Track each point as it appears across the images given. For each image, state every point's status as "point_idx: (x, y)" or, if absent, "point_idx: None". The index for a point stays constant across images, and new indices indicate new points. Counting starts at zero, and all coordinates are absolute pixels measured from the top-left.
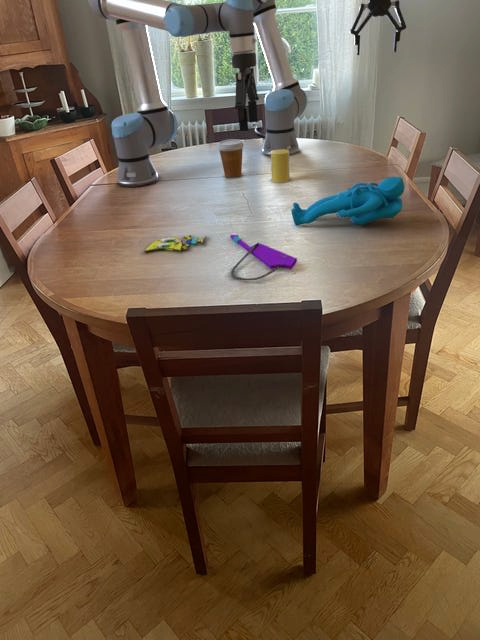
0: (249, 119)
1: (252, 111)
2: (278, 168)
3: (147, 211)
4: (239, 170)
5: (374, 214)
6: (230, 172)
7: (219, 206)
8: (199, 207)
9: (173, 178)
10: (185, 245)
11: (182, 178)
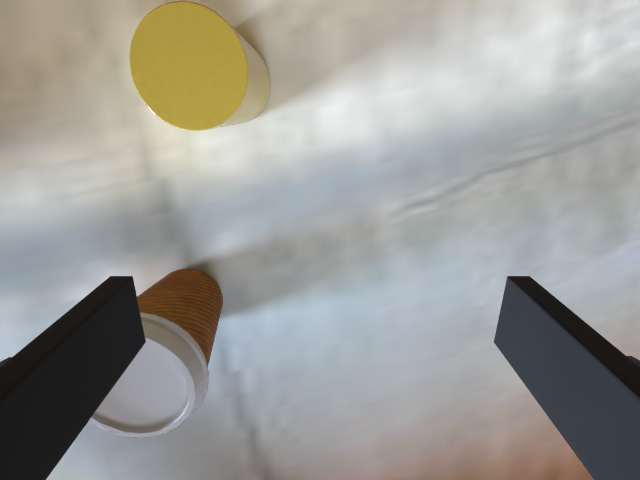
0: (133, 356)
1: (79, 379)
2: (261, 79)
3: (541, 437)
4: (195, 279)
5: None
6: (220, 308)
7: (534, 256)
8: None
9: (242, 467)
10: None
11: (240, 444)
